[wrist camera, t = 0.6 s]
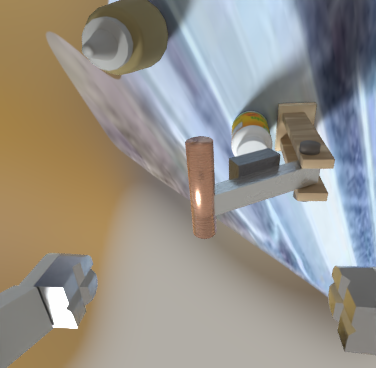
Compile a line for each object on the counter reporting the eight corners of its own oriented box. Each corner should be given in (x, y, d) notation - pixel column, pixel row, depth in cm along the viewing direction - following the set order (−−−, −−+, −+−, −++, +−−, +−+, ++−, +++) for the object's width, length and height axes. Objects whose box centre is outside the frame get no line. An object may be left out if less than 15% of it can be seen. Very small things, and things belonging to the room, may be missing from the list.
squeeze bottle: (109, 49, 41) (37, 76, 26) (124, -15, 37) (48, -27, 22) (162, 73, 42) (121, 112, 27) (182, 13, 38) (147, 21, 23)
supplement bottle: (275, 122, 44) (284, 150, 36) (252, 149, 46) (256, 180, 38) (246, 103, 43) (249, 126, 35) (224, 131, 46) (222, 159, 37)
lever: (174, 134, 27) (191, 149, 24) (302, 105, 31) (332, 115, 28) (183, 218, 32) (198, 241, 29) (292, 184, 36) (316, 200, 33)
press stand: (278, 103, 42) (299, 150, 29) (314, 102, 41) (353, 150, 28) (274, 147, 46) (291, 208, 32) (308, 147, 45) (339, 208, 32)
